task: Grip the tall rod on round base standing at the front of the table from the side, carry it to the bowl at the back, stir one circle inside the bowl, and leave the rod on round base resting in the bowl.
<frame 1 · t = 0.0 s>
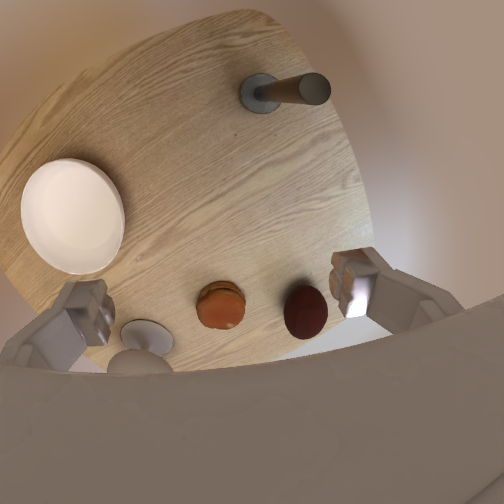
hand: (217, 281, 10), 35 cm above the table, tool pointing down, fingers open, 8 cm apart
burger: (220, 299, 55), on the table
bowl: (81, 206, 41), on the table
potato: (299, 297, 58), on the table
chalice: (146, 337, 58), on the table
rod on round base: (258, 94, 37), on the table
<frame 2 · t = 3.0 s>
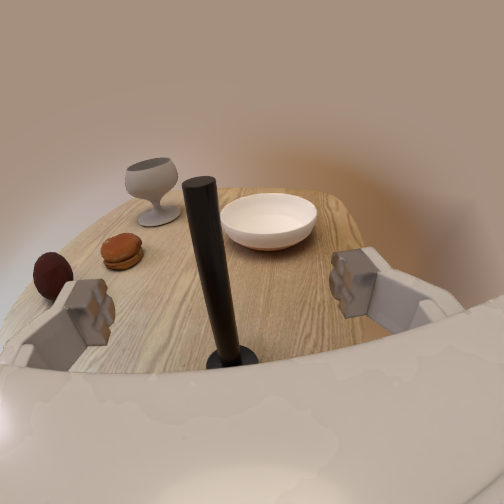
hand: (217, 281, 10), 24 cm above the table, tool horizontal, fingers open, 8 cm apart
burger: (124, 259, 57), on the table
bowl: (269, 237, 60), on the table
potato: (62, 295, 47), on the table
chalice: (159, 217, 73), on the table
rod on round base: (234, 377, 32), on the table
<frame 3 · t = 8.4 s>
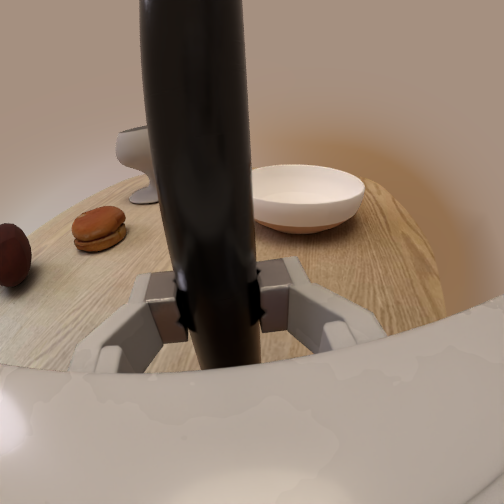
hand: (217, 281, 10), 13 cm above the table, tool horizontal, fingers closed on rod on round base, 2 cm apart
burger: (101, 240, 41), on the table
bowl: (298, 218, 44), on the table
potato: (19, 281, 32), on the table
chalice: (156, 195, 58), on the table
rod on round base: (246, 440, 15), on the table, touching gripper
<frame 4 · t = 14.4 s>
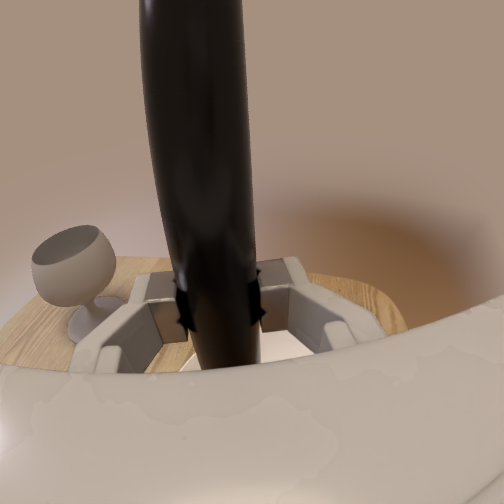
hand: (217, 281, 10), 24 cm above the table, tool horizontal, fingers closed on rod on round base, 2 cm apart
bowl: (269, 424, 27), on the table
chalice: (98, 321, 41), on the table
rod on round base: (246, 440, 15), point 12 cm above the table, touching gripper
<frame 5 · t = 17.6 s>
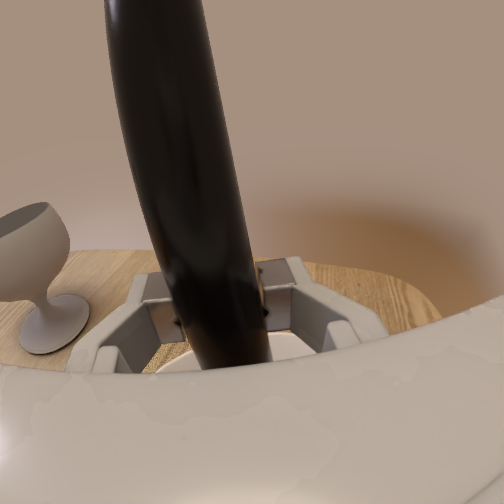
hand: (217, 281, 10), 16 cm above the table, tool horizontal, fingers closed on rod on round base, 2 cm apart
bowl: (270, 477, 15), on the table, touching rod on round base
chalice: (54, 324, 30), on the table
rod on round base: (267, 449, 12), point 7 cm above the table, tilted 8°, touching bowl, gripper
when the fingers open (15 cm above the table, at t = 20.3 s): rod on round base stays where it is, resting on bowl.
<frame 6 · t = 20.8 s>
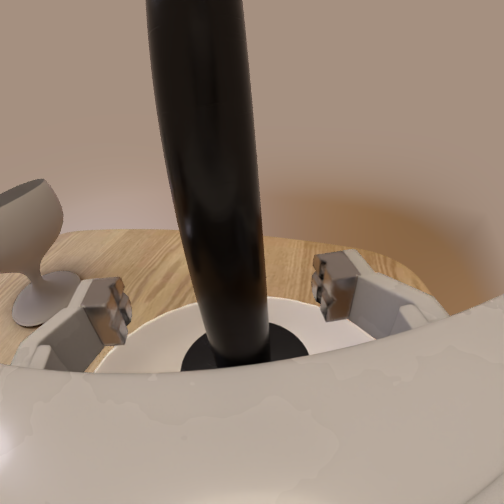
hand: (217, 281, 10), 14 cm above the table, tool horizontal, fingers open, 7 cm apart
bowl: (246, 448, 16), on the table, touching rod on round base
chalice: (46, 299, 31), on the table
rod on round base: (250, 396, 14), point 6 cm above the table, touching bowl
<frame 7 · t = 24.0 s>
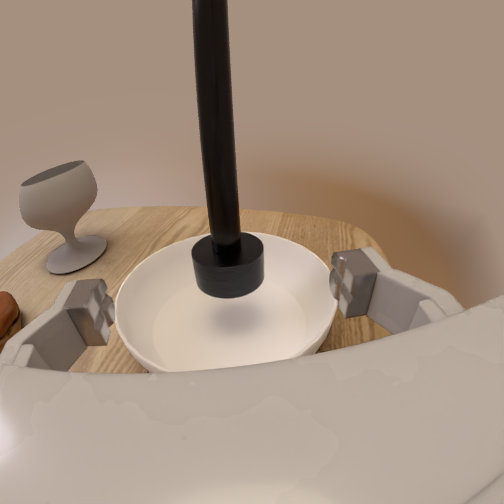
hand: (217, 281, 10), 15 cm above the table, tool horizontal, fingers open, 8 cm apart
burger: (2, 334, 25), on the table
bowl: (229, 333, 27), on the table, touching rod on round base
chalice: (76, 256, 42), on the table
rod on round base: (230, 276, 25), point 6 cm above the table, touching bowl
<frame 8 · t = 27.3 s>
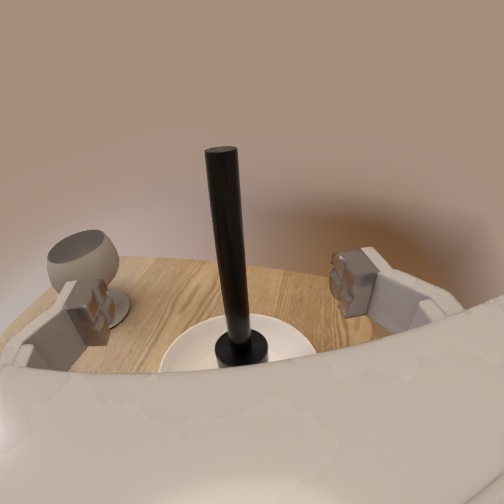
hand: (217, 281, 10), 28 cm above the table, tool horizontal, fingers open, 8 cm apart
bowl: (241, 394, 34), on the table, touching rod on round base
chalice: (102, 312, 49), on the table
rod on round base: (243, 362, 32), point 6 cm above the table, touching bowl
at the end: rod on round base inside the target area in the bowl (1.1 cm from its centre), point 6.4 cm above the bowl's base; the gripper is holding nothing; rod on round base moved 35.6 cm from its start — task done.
